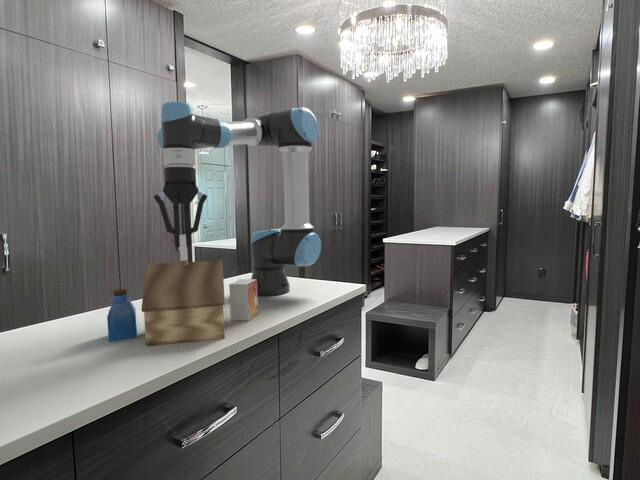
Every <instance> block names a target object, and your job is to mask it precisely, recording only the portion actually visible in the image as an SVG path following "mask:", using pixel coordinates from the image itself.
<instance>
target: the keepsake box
mask: <svg viewBox="0 0 640 480" xmlns="http://www.w3.org/2000/svg"><path fill="white" fill-rule="evenodd" d="M224 315H225V314H224V305H220V306H208V307H196V308H184V309H172V310H160V311H148V312H143V316H144V317H143V318H144V320H143V321H144V333H145V346H146V347H151V346H160V345H169V344H170V345H171V344H181V343H189V342H190V343H192V342H198V341H209V340H210V341H211V340H218V339H219V340H220V339H221V340H222V339H225V338H226V337H225V336H226V335H225V316H224Z"/></svg>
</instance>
